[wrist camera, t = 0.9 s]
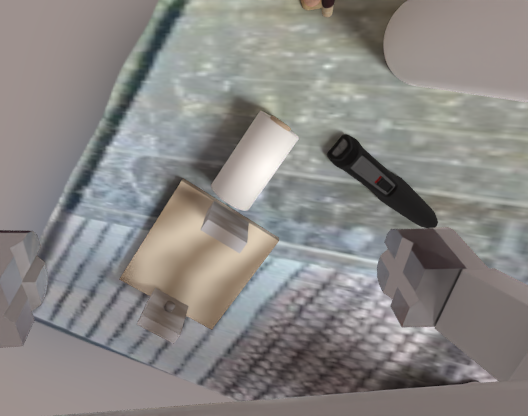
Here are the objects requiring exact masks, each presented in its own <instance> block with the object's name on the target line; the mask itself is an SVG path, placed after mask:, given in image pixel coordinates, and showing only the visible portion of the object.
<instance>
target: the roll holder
mask: <svg viewBox="0 0 528 416" xmlns="http://www.w3.org/2000/svg"><path fill="white" fill-rule="evenodd" d="M278 241H279V238H278V237H277V236H275V235H273V234H272V233H270V232H269V231H267V230H265V229H264V228H262V227H261V226H259V225H257V224H256V223H254V222H252V221H251V220H249V219H248V218H246V217H244V216H243V215H241V214H240V213H238V212H236V211H235V210H233V209H232V208H230V207H228V206H227V205H225V204H224V203H222V202H220V201H219V200H217V199H216V198H214V197H212V196H211V195H209V194H208V193H206V192H204V191H203V190H201V189H200V188H198V187H196V186H195V185H193V184H191V183H190V182H188V181H187V180H185V179H182V181H181V182H180V184H179V186H178V187H177V189H176V190H175V192H174V193H173V195H172V197H171V198H170V200H169V201H168V203H167V205H166V206H165V208H164V209H163V211H162V212H161V214H160V216H159V217H158V219H157V220H156V222H155V224H154V225H153V227H152V228H151V230H150V231H149V233H148V235H147V236H146V238H145V239H144V241H143V243H142V244H141V246H140V247H139V249H138V250H137V252H136V254H135V255H134V257H133V258H132V260H131V262H130V263H129V265H128V266H127V268H126V269H125V271H124V273H123V274H122V276H121V277H120V279H119V280H121V281H123V282H125V283H127V284H129V285H130V286H132V287H134V288H136V289H138V290H140V291H141V292H143V293H145V294H147V295H149V296H150V297H149V299H148V301H147V304H146V306H145V308H144V310H143V312H142V314H141V316H140V318H139V320H138V323H137V325H139V326H141V327H143V328H145V329H147V330H148V331H150V332H152V333H154V334H156V335H158V336H160V337H162V338H164V339H166V340H167V341H169V342H171V343H173V344H174V343H175V342H176V340H177V339H178V337H179V336H180V334H181V330H182V327H183V324H184V320H185V317H186V316H187V317H189V318H191V319H193V320H195V321H197V322H198V323H200V324H202V325H204V326H206V327H208V328H209V329H211V330H212V329H213V327H214V326H215V325H216V323H217V322H218V321H219V319H220V318H221V317H222V315H223V314H224V313H225V311H226V310H227V309H228V307H229V306H230V305H231V304H232V302H233V301H234V300H235V298H236V297H237V296H238V294H239V293H240V292H241V290H242V289H243V288H244V286H245V285H246V284H247V282H248V281H249V280H250V278H251V277H252V276H253V274H254V273H255V272H256V271H257V269H258V268H259V267H260V265H261V264H262V263H263V261H264V260H265V259H266V257H267V256H268V255H269V253H270V252H271V251H272V249H273V248H274V247H275V245H276V244H277V243H278Z"/></svg>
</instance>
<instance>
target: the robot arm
mask: <svg viewBox="0 0 528 416" xmlns="http://www.w3.org/2000/svg"><path fill="white" fill-rule="evenodd" d="M384 243H385V244H386V246H387V248H388V249H387V250H386V251H385V252H384V253H383V254H382V255H381V256H380V258H379V261H378V265H377V278H378V282H379V285H380V287H381V289H382V291H383V293H384V294H386V295H387V296H389V297H390V298H392V299H393V300H392V303H391V308H392V310H393V312H394V314H395V316H396V317H397V319H398V321H399V323H400V325H401V327H435V329H436V330H437V331H439V332H440V333H441V334H442V335H443V336H445V337H446V338H447V339H448V340H450V341H451V342H452V343H453V344H454V345H456V346H457V347H458V348H459V349H460V350H462V351H463V352H464V353H465V354H466V355H468V356H469V357H470V358H471V359H472V360H474V361H475V362H476V363H477V364H479V365H480V366H481V367H482V368H483V369H485V370H486V371H487V372H488V373H489V374H491V375H492V376H493V377H494V378H495V379H497V380H498V381H499V382H486V383H479V382H469V383H466V384H460V385H447V386H434V387H421V388H408V389H394V390H381V391H368V392H355V393H342V394H329V395H316V396H303V397H290V398H277V399H264V400H251V401H238V402H226V403H212V404H199V405H186V406H174V407H160V408H147V409H134V410H121V411H107V412H94V413H82V414H68V415H55V416H528V285H526V284H524V283H522V282H520V281H518V280H516V279H514V278H512V277H510V276H508V275H506V274H504V273H502V272H500V271H499V270H497V269H489V268H488V267H487V266H486V265H485V264H484V263H483V262H482V261H481V259H480V258H479V257H478V256H477V255H476V254H475V253H474V252H473V251H472V250H471V248H470V247H469V246H468V245H467V244H466V243H465V242H464V241H463V240H462V239H461V237H460V236H459V235H458V234H457V233H456V232H455V231H454V230H453V229H451V228H449V227H437V228H422V229H391V230H390V231H389V232H388V234H387V236H386V239H385V242H384ZM40 247H41V245H40V242H39V239H38V236H37V234H36V233H34V232H33V231H10V230H0V348H3V347H16V346H23V345H24V342H25V341H26V338H27V336H28V334H29V332H30V329H31V327H32V325H33V323H34V321H35V320H34V317H33V314H32V311H33V310H35V309H36V308H37V307H39V306H40V305H41V304H42V302H43V300H44V297H45V295H46V290H47V284H48V274H47V268H46V264H45V262H44V261H43V260H42V259H40V258H39V257H38V256H37V253H38V251H39V249H40Z"/></svg>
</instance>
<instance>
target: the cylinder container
mask: <svg viewBox="0 0 528 416" xmlns="http://www.w3.org/2000/svg"><path fill="white" fill-rule="evenodd" d="M383 49H384V56H385V60H386V62H387V65H388V67H389V68H390V70H391V71H392V73H393V74H394V75H395V76H396V77H397V78H398V79H400V80H401V81H403V82H405V83H407V84H410V85H413V86H420V87H427V88H434V89H441V90H447V91H454V92H461V93H468V94H475V95H482V96H488V97H495V98H502V99H509V100H516V101H523V102H528V0H407V1H406V2H404V3H403V4H402V5H401V6H400V7H399V8H398V9H397V10H396V11H395V13H394V14H393V16H392V17H391V19H390V21H389V23H388V25H387V28H386V31H385V35H384V42H383Z"/></svg>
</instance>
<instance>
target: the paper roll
mask: <svg viewBox="0 0 528 416" xmlns="http://www.w3.org/2000/svg"><path fill="white" fill-rule="evenodd" d="M298 139H299V137H298V136H297V135H296V134H295V133H294V132H292V131H291V128H290V127H289V126H287V125H286V124H285V123H283V122H282V121H281V120H279V119H278V118H276V117H274V116H273V115H271V116H270V115H268V114H267V113H265V112H263V111H259V113H258V115H257V116H256V118H255V119H254V121H253V122H252V124H251V125H250V127H249V128H248V130H247V131H246V133H245V134H244V136H243V137H242V139H241V140H240V142H239V143H238V145H237V146H236V148H235V149H234V151H233V152H232V154H231V155H230V157H229V158H228V160H227V161H226V163H225V165H224V166H223V168H222V169H221V171H220V172H219V174H218V175H217V177H216V178H215V180H214V181H213V183H212V184H211V188H212V190H213V191H214V192H215V193H216V194H217V195H218V196H219V197H220V198H221V199H222V200H223V201H225V202H226V203H228V204H229V205H231V206H233V207H235V208H237V209H240V210H243V211H247V210H249V208H250V207H251V206H252V204H253V203H254V201H255V200H256V198H257V197H258V196H259V194H260V193H261V191H262V190H263V189H264V187H265V186H266V184H267V183H268V182H269V180H270V179H271V177H272V176H273V174H274V173H275V172H276V170H277V169H278V167H279V166H280V165H281V163H282V162H283V160H284V159H285V158H286V156H287V155H288V153H289V152H290V151H291V149H292V148H293V146H294V145H295V143H296V142H297V141H298Z"/></svg>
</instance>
